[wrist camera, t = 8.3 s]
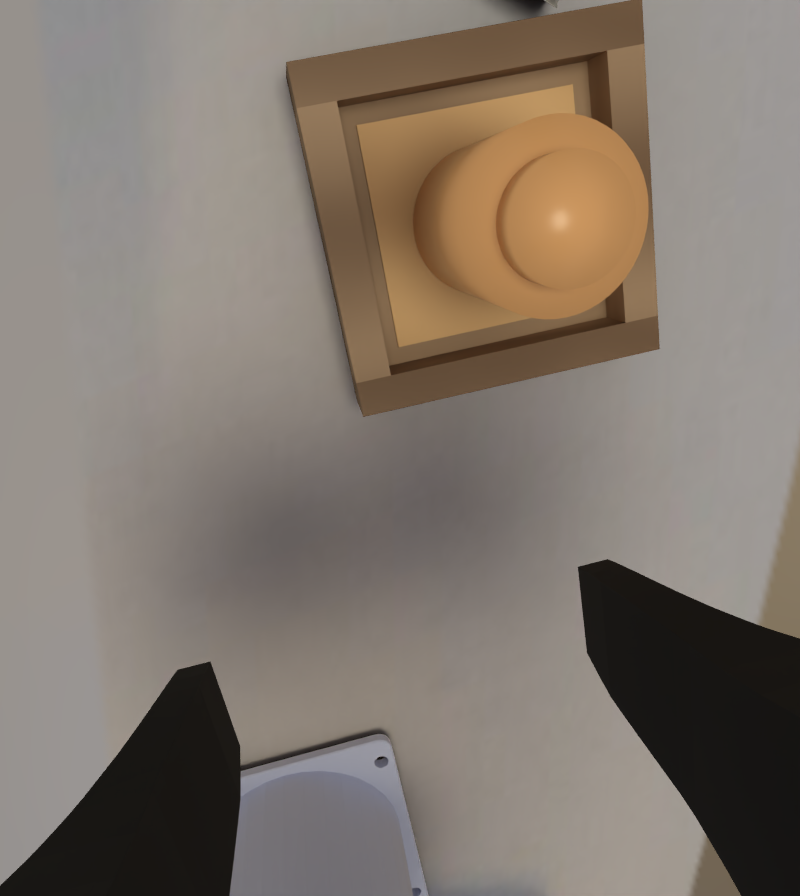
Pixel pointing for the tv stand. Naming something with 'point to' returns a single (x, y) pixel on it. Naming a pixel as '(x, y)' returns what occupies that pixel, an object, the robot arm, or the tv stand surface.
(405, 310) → the tray
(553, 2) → the wooden post with brackets
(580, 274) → the wooden dowel peg
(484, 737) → the tv stand surface
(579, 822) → the tv stand surface
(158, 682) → the tv stand surface
